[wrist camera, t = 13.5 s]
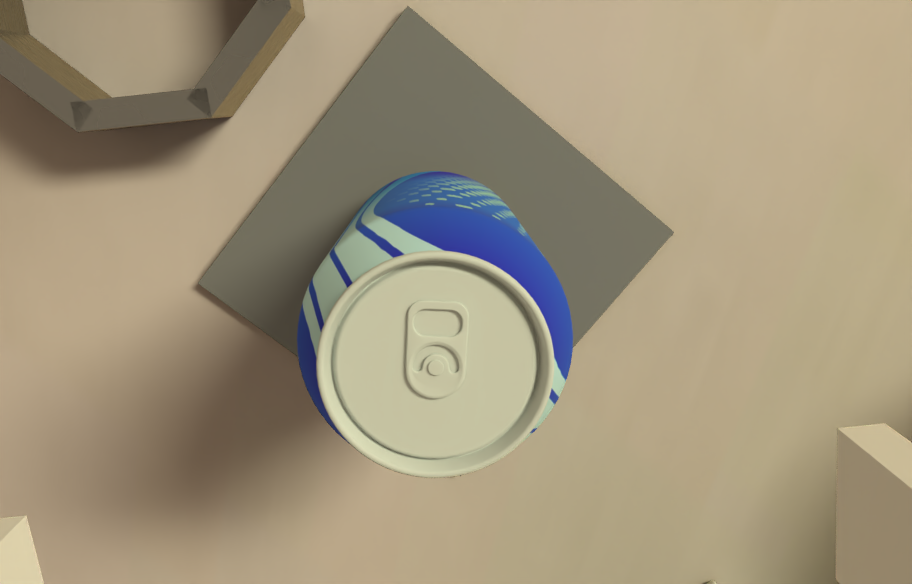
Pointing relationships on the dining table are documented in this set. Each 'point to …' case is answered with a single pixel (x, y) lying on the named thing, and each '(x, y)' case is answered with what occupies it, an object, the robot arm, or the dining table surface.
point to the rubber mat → (433, 149)
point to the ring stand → (91, 109)
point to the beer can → (434, 329)
